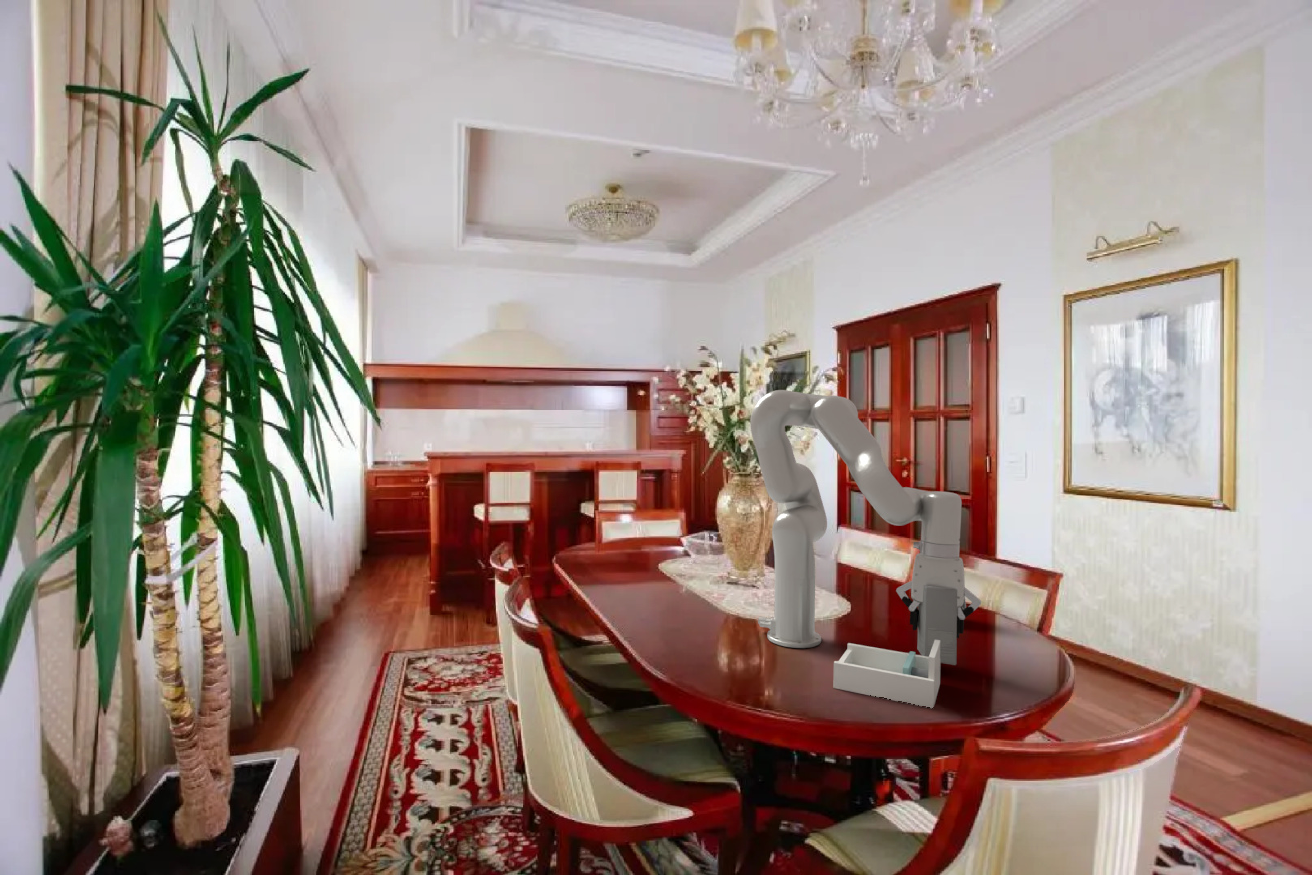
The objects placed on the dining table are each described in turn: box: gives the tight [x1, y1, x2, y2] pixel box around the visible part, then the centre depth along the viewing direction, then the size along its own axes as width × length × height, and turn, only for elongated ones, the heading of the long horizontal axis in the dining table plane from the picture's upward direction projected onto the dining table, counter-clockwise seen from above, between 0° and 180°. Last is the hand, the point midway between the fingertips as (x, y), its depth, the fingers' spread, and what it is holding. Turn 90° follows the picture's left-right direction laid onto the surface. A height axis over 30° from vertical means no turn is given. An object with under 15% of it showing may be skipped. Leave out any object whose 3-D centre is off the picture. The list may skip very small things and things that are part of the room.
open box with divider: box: [832, 640, 941, 709], centre depth 125 cm, size 18×13×9 cm
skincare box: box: [916, 585, 958, 666], centre depth 134 cm, size 8×7×16 cm
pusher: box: [903, 650, 929, 678], centre depth 122 cm, size 4×10×5 cm, turn 151°
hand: (935, 631), depth 134 cm, fingers closed on skincare box, 7 cm apart
